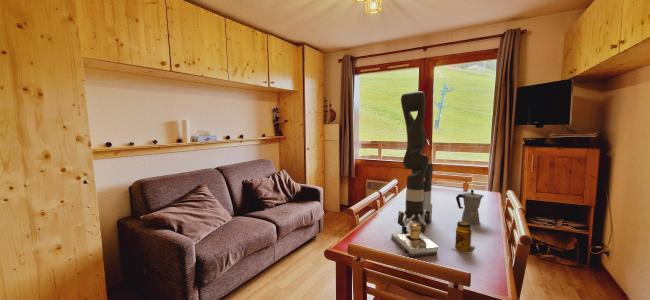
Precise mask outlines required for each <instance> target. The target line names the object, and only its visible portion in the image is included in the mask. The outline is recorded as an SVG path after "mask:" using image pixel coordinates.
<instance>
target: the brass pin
mask: <svg viewBox="0 0 650 300" xmlns="http://www.w3.org/2000/svg"><path fill="white" fill-rule="evenodd" d="M408 229H410V230H409V232H410V241H417V240H419V236H420V233H421V231H420V230H421V223H418V222H410V223H408Z"/></svg>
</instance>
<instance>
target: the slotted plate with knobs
mask: <svg viewBox="0 0 650 300" xmlns="http://www.w3.org/2000/svg"><path fill="white" fill-rule="evenodd" d="M391 240H393V241H394V242H395V243H396V244H397V246H399V247H400V248H401V249H402V251H404V253H408V257H409V258H414V257H415V258H416V257H424V256H425V257H426V256H434V255H435V256H436V255H437V254H438V252H439V246H438V245H437V244H435V242H433V241H432V240H431V239H429V238H428V237H427V236H425V235H424V233H421V232H420V236H419V240H417V241H410V231H408V230H407V234H406V235H404V234H403V233H402V232H400V233H399V232H398V233H391Z"/></svg>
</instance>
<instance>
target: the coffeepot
mask: <svg viewBox="0 0 650 300" xmlns="http://www.w3.org/2000/svg"><path fill="white" fill-rule="evenodd" d="M474 192H475V191H474V189H470V192H465V193H459V194H457V195H456V197H455V200H456V203H457V207H458V209H460V210H461V209H462V210H463V212H462V215H461V221H464V222H468V223H470V224H471V225H479V224H480V223H481V222H480V214H479V208H480V206H481V205H480V204H481V202H482V199H483V197H484V195H483V194H481V193H480V194H479V193H474ZM460 198H463V199H462V200H463V206H462V204H461V199H460Z"/></svg>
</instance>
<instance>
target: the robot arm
mask: <svg viewBox="0 0 650 300" xmlns="http://www.w3.org/2000/svg"><path fill="white" fill-rule="evenodd" d="M400 97H401V98H400V103H401V110H402V113H403V114H402V115H403V118H404V121H405V122H404V123H405V127H406V129H405V130H406V143H407V144H406V151H405V154H404V156H403V160H402V164H403V167H404V168H405V169H406V170H411V174H409V175H407V177H406V189H405V190H406V191H405V211H401V210H399V211H398V215H397V224H398V225H399V226H400V227H401V233H403V234H404V235H406V234H407V231H408V230H407V229H408V227H407V226H409V224H410V223H412V222H419V223H420V224H421V230H420V233H422V234H425V232H426V225H428V224H430V223H431V221H432V219H433V218H432V217H433V203H431V202H432V187H433V186H432V185H433V184H432V182H433V174H434V172H433V171H434V166H433V163H432V162H430V159H429V157H428V155H427V154H425V153H422V152H423V151H424V150H425V148H426V146H427V141H428V140H427V133H426V131H425V129H424V128H425V127H424V126H425V125H424V124H425V116H426V106H427V104H426V103H427V101H426V94H425V92H423V91H420V90H419V91H413V92H406V93H403V94H401V96H400ZM411 112H413V113H414V112H417V115H416V117H415V118H414V117H413V115H412V113H411Z"/></svg>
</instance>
